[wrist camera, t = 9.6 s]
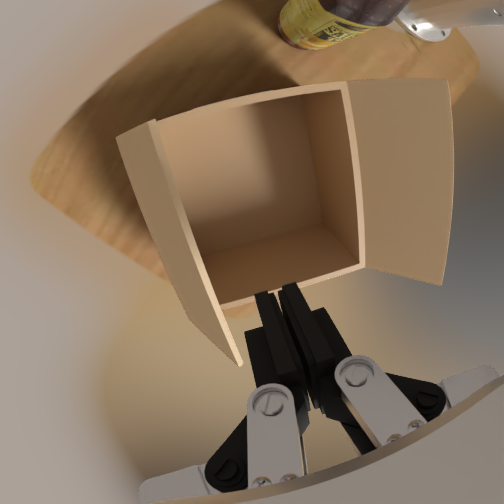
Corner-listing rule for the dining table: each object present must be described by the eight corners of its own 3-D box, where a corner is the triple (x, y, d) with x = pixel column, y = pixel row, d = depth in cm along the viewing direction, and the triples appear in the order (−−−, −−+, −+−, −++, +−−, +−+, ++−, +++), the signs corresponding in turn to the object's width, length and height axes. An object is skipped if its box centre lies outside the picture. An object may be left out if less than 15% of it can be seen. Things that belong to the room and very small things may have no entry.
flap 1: (193, 317, 24) (189, 319, 24) (120, 135, 16) (115, 137, 16) (243, 363, 19) (239, 367, 19) (155, 118, 11) (147, 121, 11)
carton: (302, 86, 25) (346, 79, 17) (325, 224, 33) (365, 267, 25) (148, 125, 25) (120, 133, 16) (194, 260, 33) (193, 317, 24)
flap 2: (346, 81, 17) (348, 81, 17) (365, 267, 25) (367, 264, 25) (447, 79, 12) (447, 79, 12) (441, 285, 20) (442, 283, 20)
